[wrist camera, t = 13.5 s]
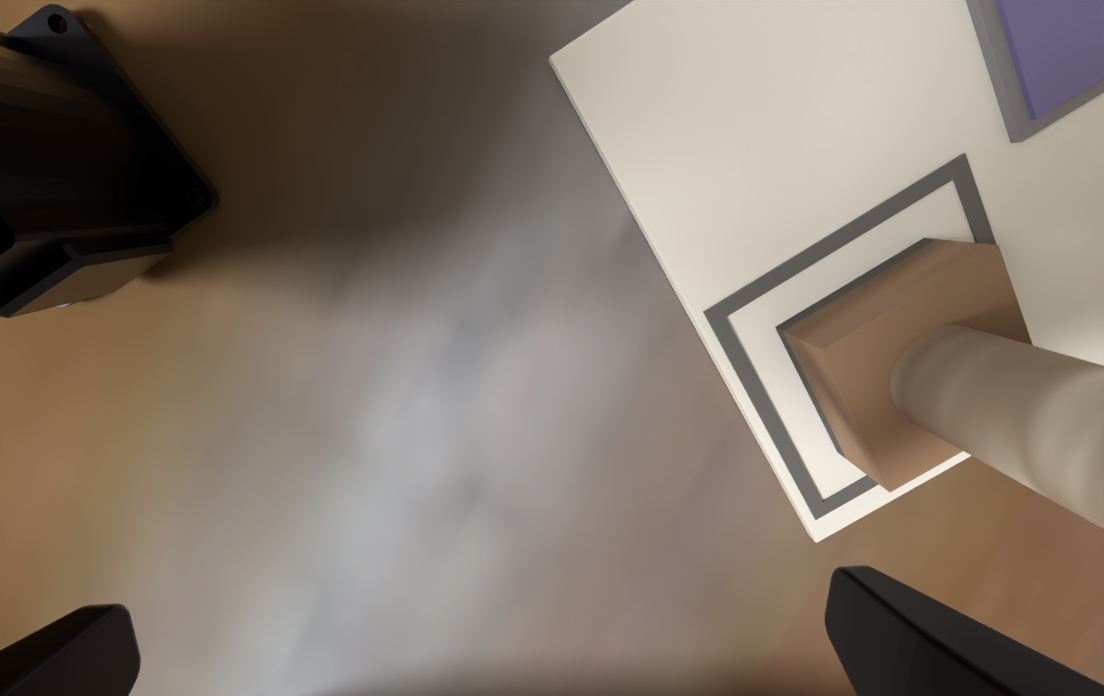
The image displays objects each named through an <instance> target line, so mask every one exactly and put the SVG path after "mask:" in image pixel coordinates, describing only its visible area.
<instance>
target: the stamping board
mask: <svg viewBox="0 0 1104 696" xmlns="http://www.w3.org/2000/svg"><path fill="white" fill-rule="evenodd" d="M548 61H549V63H550V65H551V67H552V69H553V70H554V72H555V74H556V76H557V78H558V79H559V81H560V83H561V85H562V87H563V89H564V90H565V92H566V94H567V96H568V98H569V99H570V101H571V103H572V105H573V107H574V109H575V110H576V112H577V114H578V116H579V118H580V119H581V121H582V123H583V125H584V127H585V129H586V130H587V132H588V134H589V136H590V138H591V139H592V141H593V143H594V145H595V147H596V149H597V150H598V152H599V154H600V156H601V158H602V160H603V161H604V163H605V165H606V167H607V169H608V170H609V172H610V174H611V176H612V178H613V180H614V181H615V183H616V185H617V187H618V189H619V190H620V192H621V194H622V196H623V198H624V200H625V201H626V203H627V205H628V207H629V209H630V210H631V212H632V214H633V216H634V218H635V220H636V221H637V223H638V225H639V227H640V229H641V230H642V232H643V234H644V236H645V238H646V240H647V241H648V243H649V245H650V247H651V249H652V251H653V252H654V254H655V256H656V258H657V260H658V261H659V263H660V265H661V267H662V269H663V271H664V272H665V274H666V276H667V278H668V280H669V281H670V283H671V285H672V287H673V289H674V291H675V292H676V294H677V296H678V298H679V300H680V301H681V303H682V305H683V307H684V309H685V311H686V312H687V314H688V316H689V318H690V320H691V321H692V323H693V325H694V327H695V329H696V331H697V332H698V334H699V336H700V338H701V340H702V342H703V343H704V345H705V347H706V349H707V351H708V352H709V354H710V356H711V358H712V360H713V362H714V363H715V365H716V367H717V369H718V371H719V372H720V374H721V376H722V378H723V380H724V382H725V383H726V385H727V387H728V389H729V391H730V392H731V394H732V396H733V398H734V400H735V402H736V403H737V405H738V407H739V409H740V411H741V412H742V414H743V416H744V418H745V420H746V422H747V423H748V425H749V427H750V429H751V431H752V433H753V434H754V436H755V438H756V440H757V442H758V443H759V445H760V447H761V449H762V451H763V453H764V454H765V456H766V458H767V460H768V462H769V463H770V465H771V467H772V469H773V471H774V473H775V474H776V476H777V478H778V480H779V482H780V483H781V485H782V487H783V489H784V491H785V493H786V494H787V496H788V498H789V500H790V502H791V503H792V505H793V507H794V509H795V511H796V513H797V514H798V516H799V518H800V520H801V522H802V524H803V525H804V527H805V529H806V531H807V533H808V534H809V535H810V537H811V538H812V539H813V540H814V541H815V542H816V543H817V542H819V541H821V540H822V539H824V538H826V537H828V536H829V535H831V534H833V533H835V532H837V531H838V530H840V529H842V528H844V527H845V526H847V525H849V524H851V523H853V522H854V521H856V520H858V519H860V518H861V517H863V516H865V515H867V514H869V513H870V512H872V511H874V510H876V509H877V508H879V507H881V506H883V505H885V504H886V503H888V502H890V501H892V500H893V499H895V498H897V497H899V496H900V495H902V494H904V493H906V492H908V491H909V490H911V489H913V488H915V487H916V486H918V485H920V484H922V483H924V482H925V481H927V480H929V479H931V478H932V477H934V476H936V475H938V474H940V473H941V472H943V471H945V470H947V469H948V468H950V467H952V466H954V465H956V464H957V463H959V462H961V461H963V460H964V459H966V458H968V457H970V456H971V455H970V454H968V453H966V452H964V451H963V452H961V453H959V454H957V455H956V456H954V457H952V458H950V459H949V460H947V461H945V462H943V463H942V464H940V465H938V466H936V467H934V468H933V469H931V470H929V471H927V472H926V473H924V474H922V475H920V476H919V477H917V478H915V479H913V480H911V481H910V482H908V483H906V484H904V485H903V486H901V487H899V488H897V489H895V490H894V491H892V492H888V491H887V490H886V489H884V488H883V487H882V486H881V485H879V484H878V483H877V482H875V481H874V480H873V479H871V478H870V477H869V476H868V475H866V474H865V473H864V472H862V471H861V470H860V469H858V468H857V467H856V466H855V465H853V464H852V463H851V462H849V461H848V460H847V459H845V458H844V457H843V456H842V455H840V454H839V453H838V452H837V451H836V449H835V447H834V445H833V443H832V441H831V439H830V437H829V435H828V433H827V431H826V429H825V427H824V425H823V423H822V421H821V419H820V417H819V415H818V413H817V411H816V409H815V407H814V405H813V403H812V401H811V399H810V397H809V395H808V393H807V391H806V389H805V387H804V385H803V383H802V381H801V379H800V377H799V375H798V373H797V371H796V369H795V367H794V365H793V363H792V361H791V359H790V357H789V355H788V353H787V350H786V348H785V346H784V344H783V342H782V340H781V338H780V336H779V334H778V332H777V330H776V328H775V327H776V326H778V325H779V324H781V323H783V322H784V321H786V320H788V319H789V318H791V317H793V316H794V315H796V314H798V313H799V312H801V311H803V310H804V309H806V308H808V307H809V306H811V305H813V304H814V303H816V302H818V301H819V300H821V299H823V298H824V297H826V296H828V295H829V294H831V293H833V292H834V291H836V290H838V289H839V288H841V287H843V286H844V285H846V284H848V283H849V282H851V281H853V280H854V279H856V278H858V277H859V276H861V275H863V274H864V273H866V272H868V271H869V270H871V269H873V268H874V267H876V266H878V265H879V264H881V263H883V262H884V261H886V260H888V259H889V258H891V257H893V256H894V255H896V254H898V253H899V252H901V251H903V250H904V249H906V248H908V247H909V246H911V245H913V244H914V243H916V242H918V241H919V240H921V239H923V238H932V239H942V240H952V241H962V242H972V243H982V244H992V245H999V248H1000V251H1001V253H1002V256H1003V259H1004V262H1005V265H1006V268H1007V271H1008V274H1009V277H1010V280H1011V283H1012V286H1013V289H1014V291H1015V294H1016V297H1017V300H1018V303H1019V306H1020V309H1021V312H1022V315H1023V318H1024V321H1025V324H1026V327H1027V329H1028V332H1029V335H1030V338H1031V341H1032V344H1033V346H1036V347H1040V348H1043V349H1047V350H1050V351H1054V352H1058V353H1061V354H1065V355H1068V356H1072V357H1075V358H1079V359H1082V360H1086V361H1089V362H1093V363H1096V364H1100V365H1103V366H1104V0H634V1H632V2H631V3H629V4H628V5H626V6H625V7H623V8H622V9H620V10H619V11H617V12H616V13H614V14H613V15H611V16H610V17H608V18H607V19H605V20H604V21H602V22H601V23H599V24H598V25H596V26H595V27H593V28H592V29H590V30H589V31H587V32H586V33H584V34H583V35H581V36H580V37H578V38H577V39H575V40H574V41H572V42H571V43H569V44H568V45H566V46H565V47H563V48H562V49H560V50H559V51H557V52H556V53H554V54H553V55H551V56H550V57H549V60H548Z"/></svg>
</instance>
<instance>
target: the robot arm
mask: <svg viewBox="0 0 1104 696" xmlns="http://www.w3.org/2000/svg"><path fill="white" fill-rule="evenodd" d="M62 19H65V20H66V22H67V30H66V32H65V33H63V34H61V32H60V30H59V23H60V21H61V20H62ZM197 189H198V190H200V191H201V192H202V194H203V196H204V201H203V203H202V204H201V205H199V204H198V203H197V202H196V201H195V199H194V192H195V191H196V190H197ZM218 202H219V198H218V193H217V191H216V190H215V188H214V187H213V185H212V184H211V183H210V182H209V180H208V179H207V178H206V176H205V175H204V174H203V173H202V171H201V170H200V169H199V167H198V166H197V165H196V164H195V162H194V161H193V160H192V158H191V157H190V156H189V155H188V153H187V152H186V151H185V150H184V148H183V147H182V146H181V144H180V143H179V142H178V141H177V139H176V138H175V137H174V135H173V134H172V133H171V132H170V130H169V129H168V128H167V127H166V125H165V124H164V123H163V121H162V120H161V119H160V118H159V116H158V115H157V114H156V112H155V111H154V110H153V109H152V107H151V106H150V105H149V103H148V102H147V101H146V100H145V98H144V97H143V96H142V95H141V93H140V92H139V91H138V89H137V88H136V87H135V86H134V84H133V83H132V82H131V80H130V79H129V78H128V77H127V75H126V74H125V73H124V71H123V70H122V69H121V68H120V66H119V65H118V64H117V63H116V61H115V60H114V59H113V57H112V56H111V55H110V54H109V52H108V51H107V50H106V48H105V47H104V46H103V45H102V43H101V42H100V41H99V39H98V38H97V37H96V36H95V34H94V33H93V32H92V31H91V29H90V28H89V27H88V25H87V24H86V23H85V22H84V20H83V19H82V18H81V17H80V16H79V15H78V14H77V13H75V12H73V11H71V10H69V9H67V8H64V7H62V6H60V5H56V4H49V5H47V6H44V7H43V8H41V9H40V10H38V11H37V12H36V13H34V14H33V15H32V16H30V17H29V18H27V19H26V20H25V21H23V22H22V23H21V24H19V25H18V26H17V27H15V28H14V29H12V30H11V31H10V32H8V33H7V34H6V33H3V32H0V317H5V318H11V317H15V316H19V315H24V314H28V313H32V312H36V311H40V310H44V309H48V308H52V307H64V306H68V305H72V304H75V303H77V302H79V301H81V300H84V299H88V298H92V297H96V296H100V295H104V294H108V293H112V292H114V291H116V290H118V289H119V288H120V287H122V286H123V285H125V284H126V283H128V282H129V281H131V280H132V279H134V278H135V277H137V276H138V275H140V274H141V273H143V272H144V271H146V270H147V269H149V268H150V267H152V266H153V265H155V264H156V263H158V262H159V261H161V260H162V259H164V258H165V257H167V256H168V255H169V254H171V253H172V252H173V248H174V242H173V241H172V240H171V239H172V238H174V237H175V236H177V235H178V234H180V233H181V232H183V231H184V230H186V229H187V228H189V227H190V226H192V225H193V224H194V223H196V222H197V221H199V220H200V219H202V218H203V217H205V216H206V215H208V214H209V213H211V212H212V211H214V209H215V208H216V207H217V205H218ZM825 626H826V631H827V634H828V636H829V639H830V641H831V643H832V645H833V647H834V649H835V651H836V653H837V655H838V658H839V660H840V662H841V664H842V666H843V668H844V670H845V672H846V674H847V676H848V678H849V680H850V682H851V684H852V686H853V689H854V691H855V693H856V695H857V696H1104V685H1102V684H1100V683H1098V682H1096V681H1094V680H1092V679H1090V678H1088V677H1086V676H1084V675H1082V674H1080V673H1078V672H1076V671H1075V670H1073V669H1071V668H1069V667H1067V666H1065V665H1063V664H1061V663H1059V662H1057V661H1055V660H1053V659H1051V658H1049V657H1047V656H1045V655H1043V654H1041V653H1039V652H1037V651H1035V650H1033V649H1031V648H1029V647H1027V646H1025V645H1023V644H1021V643H1019V642H1017V641H1015V640H1013V639H1011V638H1010V637H1008V636H1006V635H1004V634H1002V633H1000V632H998V631H996V630H994V629H992V628H990V627H988V626H986V625H984V624H982V623H980V622H978V621H976V620H974V619H972V618H970V617H968V616H966V615H964V614H962V613H960V612H958V611H956V610H954V609H952V608H950V607H948V606H946V605H945V604H943V603H941V602H939V601H937V600H935V599H933V598H931V597H929V596H927V595H925V594H923V593H921V592H919V591H917V590H915V589H913V588H911V587H909V586H907V585H905V584H903V583H901V582H899V581H897V580H895V579H893V578H891V577H889V576H887V575H885V574H883V573H881V572H880V571H878V570H876V569H874V568H871V567H869V566H865V565H857V566H841V567H838V568H836V569H835V570H834V572H833V573H832V577H831V583H830V588H829V594H828V600H827V605H826V611H825ZM140 662H141V657H140V652H139V648H138V644H137V640H136V636H135V632H134V628H133V624H132V620H131V616H130V612H129V610H128V609H127V608H126V607H125V606H124V605H121V604H99V605H88V606H84V607H81V608H79V609H77V610H75V611H73V612H71V613H69V614H67V615H66V616H64V617H62V618H60V619H58V620H56V621H54V622H52V623H51V624H49V625H47V626H45V627H43V628H41V629H39V630H38V631H36V632H34V633H32V634H30V635H28V636H26V637H24V638H23V639H21V640H19V641H17V642H15V643H13V644H11V645H9V646H8V647H6V648H4V649H2V650H0V696H129V694H130V692H131V690H132V688H133V686H134V684H135V682H136V679H137V677H138V674H139V670H140Z"/></svg>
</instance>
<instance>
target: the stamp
mask: <svg viewBox="0 0 1104 696" xmlns="http://www.w3.org/2000/svg"><path fill="white" fill-rule="evenodd" d="M775 328H776V330H777V332H778V334H779V336H780V338H781V340H782V342H783V344H784V346H785V348H786V350H787V353H788V355H789V357H790V359H791V361H792V363H793V365H794V367H795V369H796V371H797V373H798V375H799V377H800V379H801V381H802V383H803V385H804V387H805V389H806V391H807V393H808V395H809V397H810V399H811V401H812V403H813V405H814V407H815V409H816V411H817V413H818V415H819V417H820V419H821V421H822V423H823V425H824V427H825V429H826V431H827V433H828V435H829V437H830V439H831V441H832V443H833V445H834V447H835V449H836V451H837V452H838V453H839V454H840V455H842V456H843V457H844V458H845V459H847V460H848V461H849V462H851V463H852V464H853V465H855V466H856V467H857V468H858V469H860V470H861V471H862V472H864V473H865V474H866V475H868V476H869V477H870V478H871V479H873V480H874V481H875V482H877V483H878V484H879V485H881V486H882V487H883V488H884V489H886V490H887V491H888V492H892V491H894V490H895V489H897V488H899V487H901V486H903V485H904V484H906V483H908V482H910V481H911V480H913V479H915V478H917V477H919V476H920V475H922V474H924V473H926V472H927V471H929V470H931V469H933V468H934V467H936V466H938V465H940V464H942V463H943V462H945V461H947V460H949V459H950V458H952V457H954V456H956V455H957V454H959V453H961V452H963V451H964V452H966V453H968V454H970V455H971V456H973V457H975V458H977V459H979V460H980V461H982V462H984V463H986V464H988V465H989V466H991V467H993V468H995V469H997V470H998V471H1000V472H1002V473H1004V474H1006V475H1007V476H1009V477H1011V478H1013V479H1015V480H1016V481H1018V482H1020V483H1022V484H1024V485H1025V486H1027V487H1029V488H1031V489H1033V490H1034V491H1036V492H1038V493H1040V494H1042V495H1043V496H1045V497H1047V498H1049V499H1051V500H1052V501H1054V502H1056V503H1058V504H1060V505H1061V506H1063V507H1065V508H1067V509H1069V510H1070V511H1072V512H1074V513H1076V514H1078V515H1079V516H1081V517H1083V518H1085V519H1087V520H1088V521H1090V522H1092V523H1094V524H1096V525H1097V526H1099V527H1101V528H1103V529H1104V366H1103V365H1100V364H1096V363H1093V362H1089V361H1086V360H1082V359H1079V358H1075V357H1072V356H1068V355H1065V354H1061V353H1058V352H1054V351H1050V350H1047V349H1043V348H1040V347H1036V346H1033V344H1032V341H1031V338H1030V335H1029V332H1028V329H1027V327H1026V324H1025V321H1024V318H1023V315H1022V312H1021V309H1020V306H1019V303H1018V300H1017V297H1016V294H1015V291H1014V289H1013V286H1012V283H1011V280H1010V277H1009V274H1008V271H1007V268H1006V265H1005V262H1004V259H1003V256H1002V253H1001V251H1000V248H999V245H992V244H982V243H972V242H962V241H952V240H942V239H932V238H923V239H921V240H919V241H918V242H916V243H914V244H913V245H911V246H909V247H908V248H906V249H904V250H903V251H901V252H899V253H898V254H896V255H894V256H893V257H891V258H889V259H888V260H886V261H884V262H883V263H881V264H879V265H878V266H876V267H874V268H873V269H871V270H869V271H868V272H866V273H864V274H863V275H861V276H859V277H858V278H856V279H854V280H853V281H851V282H849V283H848V284H846V285H844V286H843V287H841V288H839V289H838V290H836V291H834V292H833V293H831V294H829V295H828V296H826V297H824V298H823V299H821V300H819V301H818V302H816V303H814V304H813V305H811V306H809V307H808V308H806V309H804V310H803V311H801V312H799V313H798V314H796V315H794V316H793V317H791V318H789V319H788V320H786V321H784V322H783V323H781V324H779V325H778V326H776V327H775Z"/></svg>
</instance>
